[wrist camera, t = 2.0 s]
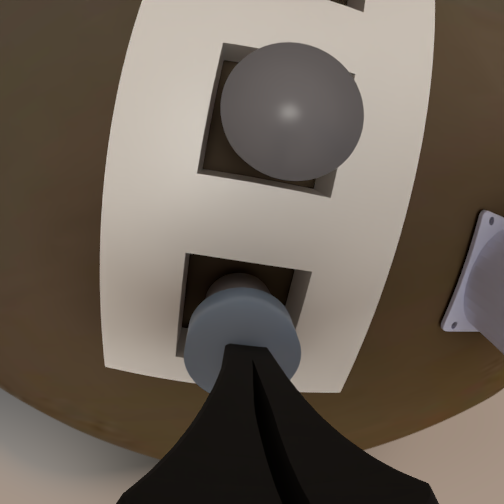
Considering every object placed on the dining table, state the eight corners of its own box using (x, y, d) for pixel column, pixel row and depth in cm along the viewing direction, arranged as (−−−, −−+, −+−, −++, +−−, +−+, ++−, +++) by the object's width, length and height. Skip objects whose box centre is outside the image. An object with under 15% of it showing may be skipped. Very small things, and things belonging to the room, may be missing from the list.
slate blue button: (291, 268, 14) (315, 317, 10) (272, 343, 15) (285, 402, 11) (199, 255, 13) (188, 301, 9) (190, 333, 14) (180, 393, 11)
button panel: (410, -32, 10) (432, -48, 7) (328, 364, 17) (340, 392, 15) (196, -85, 8) (193, -111, 6) (118, 338, 16) (105, 366, 13)
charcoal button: (330, 87, 11) (373, 65, 7) (312, 178, 12) (348, 194, 9) (233, 65, 11) (236, 29, 7) (214, 160, 12) (208, 166, 8)
